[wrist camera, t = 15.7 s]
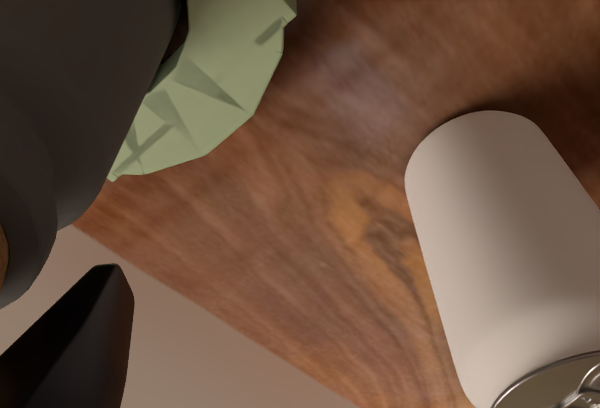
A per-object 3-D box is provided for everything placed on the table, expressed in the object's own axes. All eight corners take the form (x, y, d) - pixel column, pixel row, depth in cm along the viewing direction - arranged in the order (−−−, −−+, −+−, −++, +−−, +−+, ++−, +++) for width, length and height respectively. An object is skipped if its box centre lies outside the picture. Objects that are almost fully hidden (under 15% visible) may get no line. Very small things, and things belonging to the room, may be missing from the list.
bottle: (217, -19, 19) (102, 305, 7) (125, 88, 22) (-71, 458, 10) (69, -158, 16) (-491, -4, 5) (-16, -17, 19) (-516, 314, 7)
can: (578, 134, 23) (774, 375, 14) (490, 236, 27) (598, 481, 18) (452, 82, 22) (578, 315, 12) (377, 199, 25) (429, 446, 16)
